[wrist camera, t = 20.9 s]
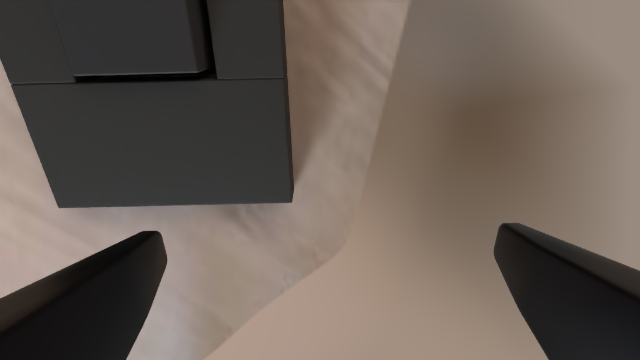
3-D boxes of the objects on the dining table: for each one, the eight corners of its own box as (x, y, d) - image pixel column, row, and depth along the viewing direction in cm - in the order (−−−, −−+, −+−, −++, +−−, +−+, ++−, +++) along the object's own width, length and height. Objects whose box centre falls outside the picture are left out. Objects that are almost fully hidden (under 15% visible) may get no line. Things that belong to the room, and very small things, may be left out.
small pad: (197, -63, 16) (172, -84, 13) (216, 67, 18) (198, 72, 16) (74, -60, 16) (23, -80, 13) (109, 70, 18) (72, 76, 16)
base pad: (278, -75, 16) (273, -89, 14) (294, 189, 21) (292, 203, 19) (-12, -67, 16) (-55, -81, 14) (80, 194, 21) (58, 208, 20)
